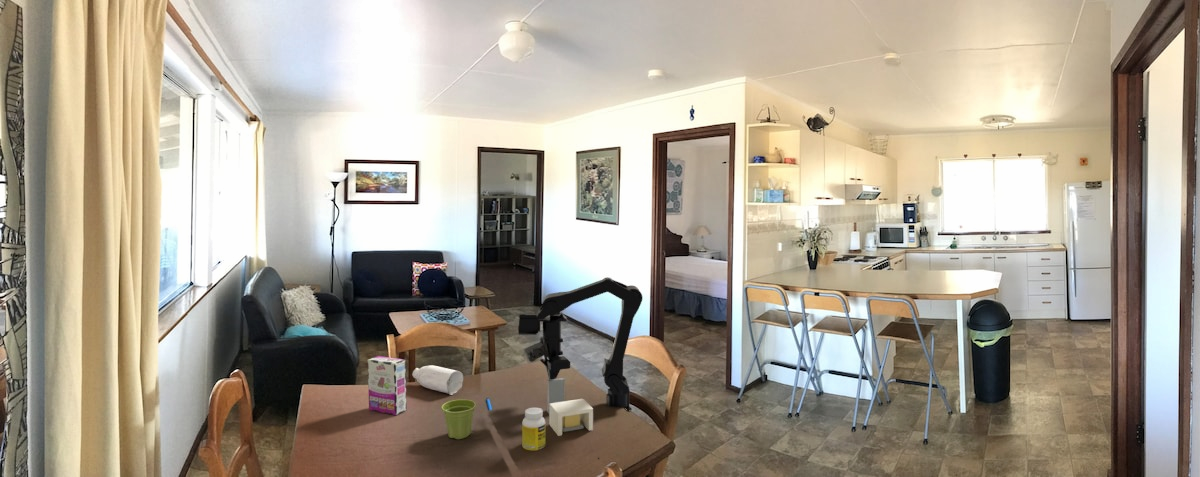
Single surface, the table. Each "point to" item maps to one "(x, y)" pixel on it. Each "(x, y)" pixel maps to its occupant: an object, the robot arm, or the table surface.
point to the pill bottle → (533, 429)
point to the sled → (558, 397)
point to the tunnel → (570, 413)
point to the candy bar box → (387, 385)
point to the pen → (489, 405)
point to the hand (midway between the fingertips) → (551, 383)
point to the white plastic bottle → (439, 378)
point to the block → (571, 421)
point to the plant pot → (459, 417)
